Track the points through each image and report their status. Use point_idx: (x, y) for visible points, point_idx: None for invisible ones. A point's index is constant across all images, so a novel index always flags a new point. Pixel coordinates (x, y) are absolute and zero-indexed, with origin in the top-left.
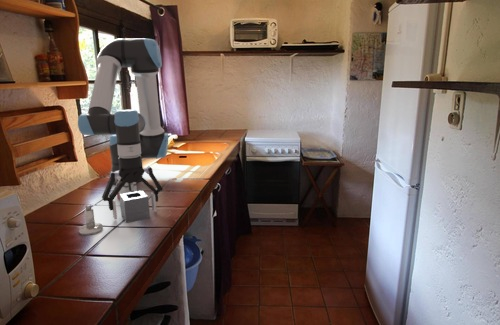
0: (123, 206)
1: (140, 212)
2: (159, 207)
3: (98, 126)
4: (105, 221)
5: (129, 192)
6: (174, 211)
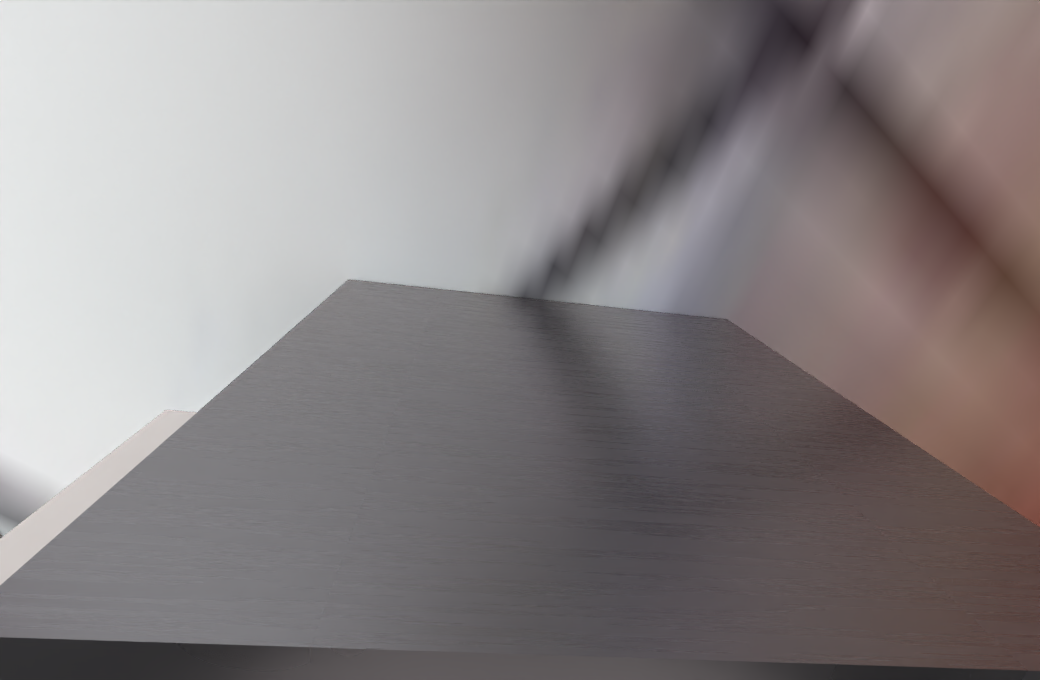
0: None
1: None
2: (975, 333)
3: None
4: (57, 379)
5: (604, 656)
6: None
